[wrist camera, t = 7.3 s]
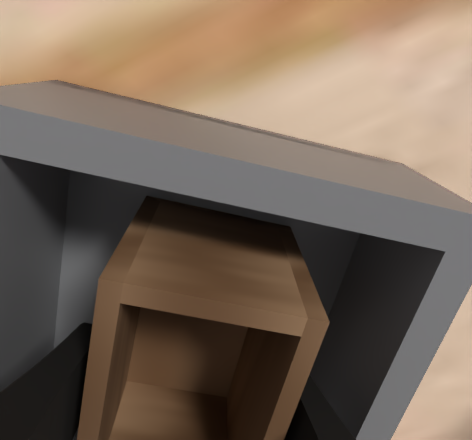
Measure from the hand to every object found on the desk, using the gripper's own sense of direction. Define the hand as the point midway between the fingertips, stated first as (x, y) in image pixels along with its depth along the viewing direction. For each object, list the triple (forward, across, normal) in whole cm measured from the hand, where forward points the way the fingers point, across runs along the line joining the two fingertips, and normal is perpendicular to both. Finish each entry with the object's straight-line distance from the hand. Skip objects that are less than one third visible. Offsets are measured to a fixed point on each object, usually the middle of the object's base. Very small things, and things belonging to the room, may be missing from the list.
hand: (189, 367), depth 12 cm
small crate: (+3, 0, 0) cm, 3 cm away
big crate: (+4, 0, 0) cm, 4 cm away
